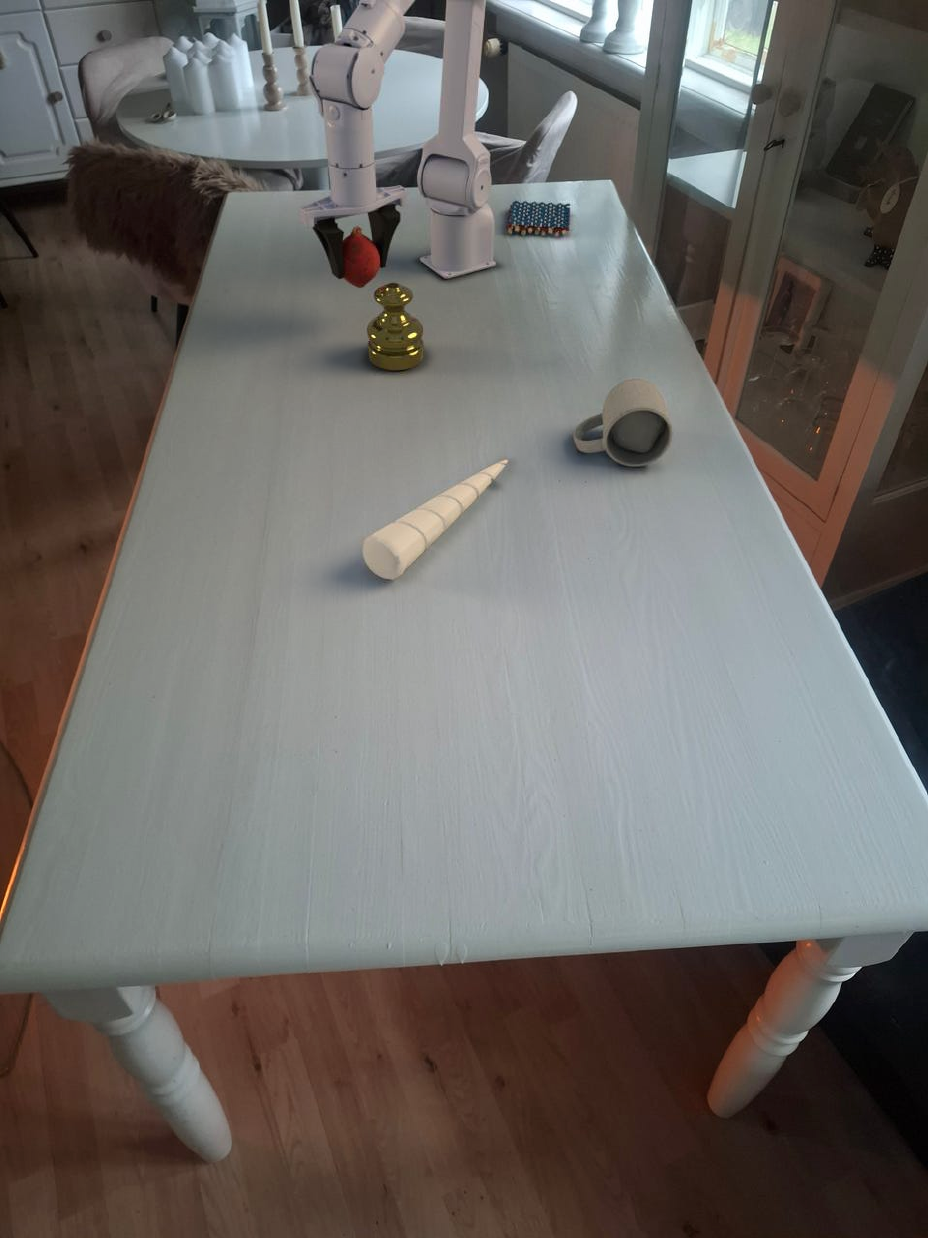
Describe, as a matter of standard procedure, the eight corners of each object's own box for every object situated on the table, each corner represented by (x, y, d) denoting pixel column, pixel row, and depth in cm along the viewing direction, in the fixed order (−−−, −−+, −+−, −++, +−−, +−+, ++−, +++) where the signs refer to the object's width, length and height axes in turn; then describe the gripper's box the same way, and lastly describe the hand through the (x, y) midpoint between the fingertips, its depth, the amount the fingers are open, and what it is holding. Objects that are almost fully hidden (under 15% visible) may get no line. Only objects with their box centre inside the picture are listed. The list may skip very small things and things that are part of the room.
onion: (374, 299, 115) (371, 238, 109) (333, 294, 115) (327, 234, 110) (386, 280, 119) (383, 220, 113) (345, 275, 119) (340, 216, 114)
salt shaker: (410, 339, 119) (408, 268, 112) (432, 365, 115) (431, 292, 107) (360, 350, 117) (355, 278, 110) (380, 376, 112) (376, 303, 105)
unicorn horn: (534, 476, 98) (537, 440, 95) (396, 590, 85) (394, 553, 82) (500, 460, 100) (502, 425, 97) (361, 569, 87) (357, 533, 84)
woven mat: (509, 210, 151) (509, 198, 150) (569, 213, 151) (571, 201, 149) (505, 234, 144) (505, 222, 143) (568, 238, 143) (570, 225, 142)
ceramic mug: (657, 428, 105) (668, 371, 100) (666, 468, 99) (678, 410, 94) (570, 426, 105) (576, 370, 100) (574, 467, 100) (581, 409, 94)
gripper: (387, 141, 110) (391, 247, 120) (283, 161, 105) (297, 271, 115) (415, 157, 106) (417, 266, 116) (308, 179, 101) (320, 291, 111)
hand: (359, 270), depth 115 cm, fingers closed on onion, 6 cm apart
